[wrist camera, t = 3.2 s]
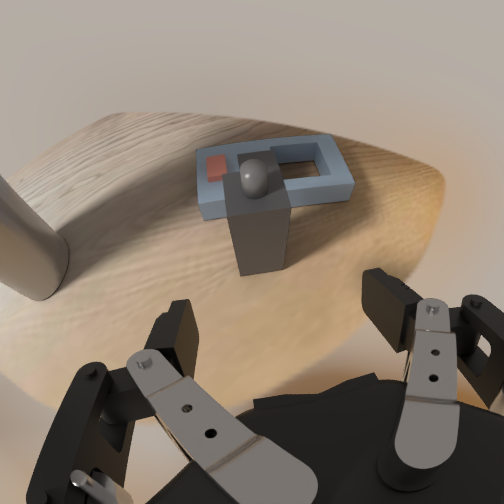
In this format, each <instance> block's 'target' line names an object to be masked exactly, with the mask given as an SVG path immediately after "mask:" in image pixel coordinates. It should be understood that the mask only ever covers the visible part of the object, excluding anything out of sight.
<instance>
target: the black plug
mask: <svg viewBox="0 0 504 504" xmlns="http://www.w3.org/2000/svg"><path fill="white" fill-rule="evenodd" d="M222 180H223V189H224V197H225V205H226V214H227V220H228V224H229V229H230V233H231V237H232V242H233V246H234V250H235V255H236V259H237V263H238V268H239V272H240V276H247V275H254V274H260V273H266V272H273V271H279V270H283V266H284V259H285V252H286V245H287V238H288V230H289V223H290V215H291V208H292V207H291V204H290V200H289V197H288V193H287V190H286V186H285V183H284V180H283V176H282V173H281V170H280V166H276V167H268V168H267V165H266V164H265V163H264V162H263V161H261V160H258V159H250V160H247V161H245V162H244V163H242V165H241V167H240V171H239V172H232V173H226V174H222Z"/></svg>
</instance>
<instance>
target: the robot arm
mask: <svg viewBox="0 0 504 504" xmlns="http://www.w3.org/2000/svg"><path fill="white" fill-rule="evenodd" d="M68 257H69V253H68V247H67V244H66V242H65V240H64V239H63V238H62V237H61V236H60V235H59V234H57V233H56V232H55V231H54V230H53V229H52V228H51V227H50V226H49V225H48V224H47V223H46V222H45V221H44V220H43V219H42V218H41V217H40V216H39V215H38V214H37V213H36V212H35V211H34V210H33V209H32V208H31V207H30V206H29V205H28V204H27V203H26V202H25V201H24V200H23V199H22V198H21V197H20V196H19V195H18V194H17V193H16V192H15V191H14V190H13V188H12V187H11V186H10V185H9V184H8V183H7V182H6V181H5V180H4V179H3V177H2V176H1V175H0V282H1V283H3V284H5V285H7V286H8V287H10V288H11V289H13V290H15V291H17V292H19V293H20V294H22V295H24V296H26V297H28V298H30V299H32V300H35V301H42V300H44V299H46V298H48V297H49V296H50V295H52V294H53V293H54V291H55V290H56V289H57V288H58V286H59V285H60V283H61V281H62V279H63V277H64V275H65V272H66V269H67V265H68ZM362 308H363V310H364V312H365V314H366V315H367V316H368V317H369V319H370V320H371V321H372V322H373V324H374V325H375V326H376V327H377V329H378V330H379V331H380V332H381V334H382V335H383V336H384V338H385V339H386V340H387V341H388V343H389V344H390V345H391V346H392V348H393V349H394V350H395V352H396V353H399V352H401V351H404V350H407V351H408V353H407V357H406V362H405V367H404V373H403V377H402V381H397V380H378V378H377V376H376V375H375V373H370V374H367V375H364V376H360V377H357V378H354V379H350V380H347V381H345V382H343V383H341V384H339V385H337V386H335V387H332V388H330V389H328V390H326V391H324V392H322V393H319V394H297V395H296V394H294V395H293V394H289V395H288V394H285V395H278V396H272V397H266V398H259V399H253V402H254V408H253V409H250V410H248V411H245V412H243V413H241V414H239V415H238V416H236V417H233V416H232V415H231V414H230V413H229V412H228V411H227V410H226V409H224V408H223V407H222V406H221V405H220V404H219V403H218V402H217V401H215V400H214V399H213V398H212V397H211V396H210V395H209V394H208V393H207V392H206V391H205V390H203V389H202V388H201V387H200V386H199V385H198V384H197V383H196V382H195V381H194V380H193V379H194V372H195V365H196V358H197V351H198V345H199V333H198V328H197V324H196V321H195V317H194V313H193V310H192V306H191V303H190V300H189V299H185V300H177V301H172V303H171V306H170V308H169V311H168V312H166V313H162V314H161V315H160V316H159V317H158V318H157V319H156V321H155V323H154V325H153V328H152V330H151V333H150V335H149V337H148V340H147V342H146V344H145V347H144V349H143V350H141V351H139V352H136V353H135V354H133V355H132V356H131V357H130V358H129V359H128V361H127V364H126V367H124V368H120V369H116V370H112V371H108V369H107V367H106V366H105V364H103V363H101V362H91V363H88V364H86V365H84V366H83V367H81V368H80V369H79V370H78V371H77V373H76V375H75V377H74V379H73V381H72V383H71V385H70V387H69V389H68V391H67V393H66V395H65V397H64V399H63V401H62V403H61V405H60V407H59V410H58V412H57V414H56V416H55V418H54V421H53V423H52V425H51V428H50V430H49V432H48V435H47V437H46V440H45V442H44V445H43V447H42V450H41V452H40V455H39V458H38V460H37V463H36V466H35V469H34V472H33V475H32V478H31V481H30V484H29V487H28V491H27V494H26V503H27V504H133V500H132V498H131V496H130V494H129V493H128V492H127V491H126V490H124V489H123V488H124V481H125V475H126V469H127V462H128V456H129V451H130V446H131V441H132V435H133V430H134V426H135V421H136V420H139V419H143V418H147V417H151V416H154V417H155V418H156V420H157V421H158V423H159V424H160V425H161V427H162V428H163V429H164V431H165V432H166V433H167V435H168V436H169V437H170V439H171V440H172V441H173V442H174V444H175V445H176V446H177V448H178V449H179V450H180V452H181V453H182V454H183V456H184V457H185V458H186V459H187V460H188V462H189V463H188V464H187V465H186V466H185V467H184V468H183V469H182V470H181V471H180V472H179V473H178V474H177V475H176V476H175V477H174V478H173V479H172V480H171V481H170V482H169V483H168V484H167V485H166V486H164V487H163V488H162V489H161V490H160V491H159V492H158V493H157V494H156V495H155V496H153V497H152V498H151V499H150V500H149V501H148V502H147V503H145V504H504V313H503V312H502V311H501V310H499V309H498V308H497V307H496V306H494V305H493V304H492V303H491V302H489V301H488V300H487V299H485V298H483V297H482V296H479V295H467V296H465V297H464V298H463V300H462V305H461V307H456V308H448V306H447V304H445V302H443V301H441V300H438V299H433V298H428V299H423V298H422V297H421V296H419V295H418V294H417V293H416V292H414V291H413V290H412V289H410V287H408V286H407V285H405V283H403V282H402V281H401V280H400V279H398V278H395V277H393V276H390V275H388V274H387V273H385V272H384V271H383V270H382V269H380V268H374V269H369V270H365V271H364V272H363V276H362ZM481 335H482V336H483V337H484V338H485V339H486V340H487V341H488V342H489V343H490V346H491V354H490V356H489V357H488V356H487V355H486V354H485V353H484V352H483V351H482V350H481V349H480V348H479V347H478V346H477V345H478V342H479V339H480V336H481ZM457 368H458V369H459V370H460V372H461V373H462V374H463V375H464V377H465V378H466V379H467V380H468V382H469V383H470V384H471V386H472V387H473V388H474V390H475V391H476V392H477V394H478V395H479V396H480V398H481V399H482V400H483V402H484V403H485V405H486V406H487V407H488V409H489V410H490V411H488V410H485V409H481V408H478V407H475V406H471V405H469V404H466V403H463V402H459V401H457V399H456V398H457ZM100 416H101V417H100ZM99 419H100V420H99Z"/></svg>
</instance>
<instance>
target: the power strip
mask: <svg viewBox="0 0 504 504" xmlns="http://www.w3.org/2000/svg"><path fill="white" fill-rule="evenodd" d="M250 159H258V160H261V161H263V162H264V163H265V164H266V165H267V168H268V167H276V166H278V164H281V163H291V162H301V161H312V160H314V161H315V164H316V166H317V168H318V171H319V173H320V176H314V177H305V178H296V179H287V180H284V183H285V186H286V190H287V193H288V197H289V200H290V204H291V207H299V206H306V205H314V204H322V203H331V202H339V201H348V200H349V198H350V196H351V193H352V191H353V188H354V186H355V181H354V179H353V177H352V175H351V173H350V171H349V169H348V167H347V165H346V163H345V161H344V159H343V157H342V155H341V153H340V151H339V149H338V147H337V145H336V143H335V141H334V139H333V137H332V136H331V134H322V135H305V136H292V137H281V138H271V139H262V140H254V141H246V142H239V143H232V144H226V145H219V146H213V147H208V148H202V149H197V150H196V165H197V193H198V205H199V208H200V211H201V214H202V217H203V220H204V221H205V220H211V219H217V218H223V217H227V214H226V205H225V197H224V189H223V180H222V174H226V173H232V172H239V171H240V167H241V165H242V163H244V162H245V161H247V160H250Z"/></svg>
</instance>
